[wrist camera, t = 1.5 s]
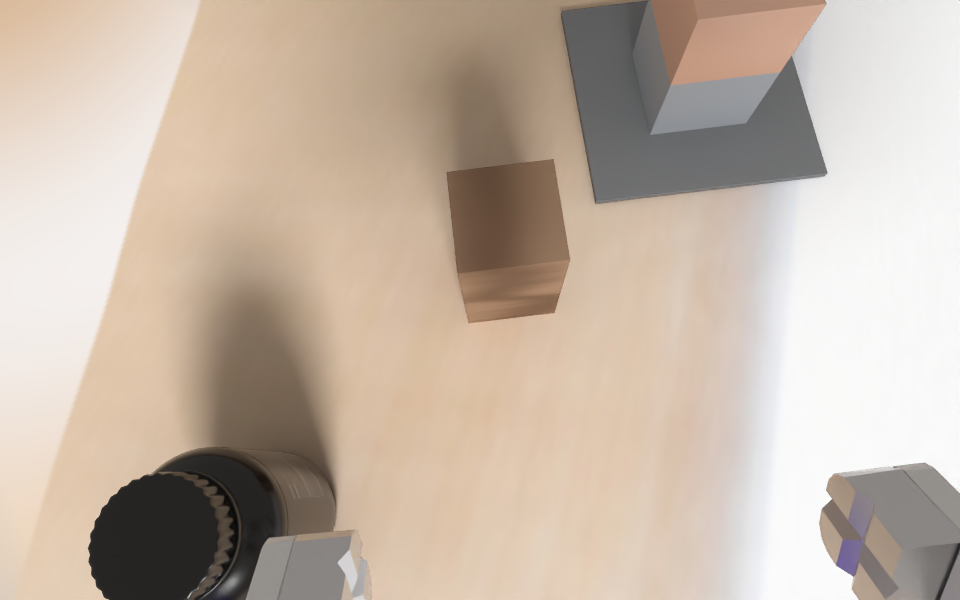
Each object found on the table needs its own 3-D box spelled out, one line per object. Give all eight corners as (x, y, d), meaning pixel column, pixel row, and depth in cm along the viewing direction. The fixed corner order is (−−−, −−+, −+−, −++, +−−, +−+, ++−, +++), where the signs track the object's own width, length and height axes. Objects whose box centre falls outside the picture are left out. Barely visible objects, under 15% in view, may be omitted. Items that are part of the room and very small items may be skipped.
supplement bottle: (206, 469, 34) (53, 463, 22) (327, 439, 34) (237, 418, 23) (221, 602, 32) (62, 670, 21) (349, 569, 32) (262, 618, 21)
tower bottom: (724, 42, 40) (754, -17, 35) (745, 123, 38) (780, 72, 33) (632, 54, 40) (649, -5, 35) (649, 134, 38) (670, 85, 33)
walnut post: (542, 233, 37) (553, 159, 29) (554, 312, 36) (569, 260, 27) (459, 243, 37) (446, 172, 29) (468, 323, 36) (457, 273, 27)
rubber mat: (767, -10, 41) (770, -15, 41) (824, 176, 37) (827, 173, 37) (561, 15, 42) (561, 11, 41) (595, 203, 38) (596, 200, 37)
